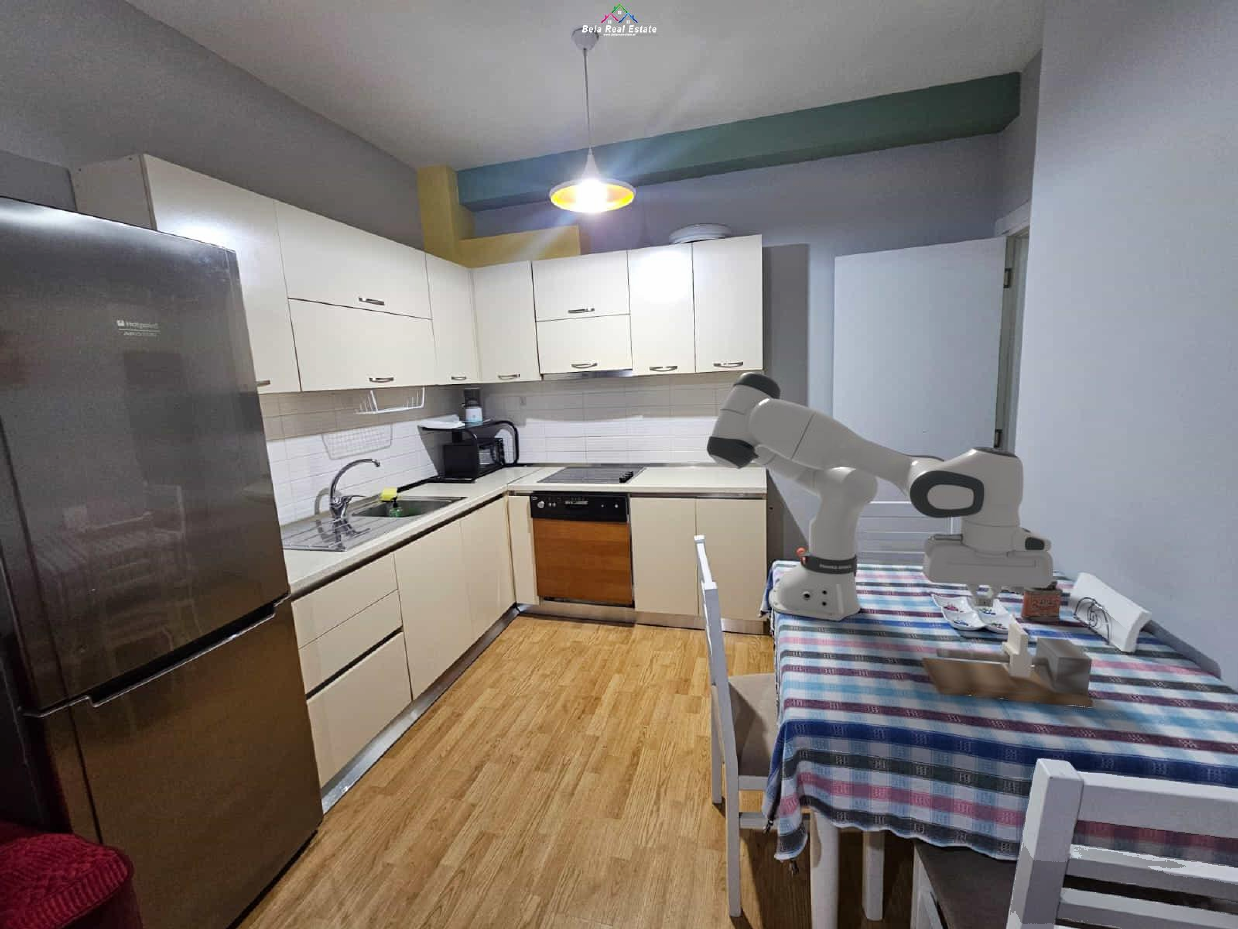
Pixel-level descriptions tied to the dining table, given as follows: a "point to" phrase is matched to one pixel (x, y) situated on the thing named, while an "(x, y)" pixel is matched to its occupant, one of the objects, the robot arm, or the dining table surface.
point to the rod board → (1050, 682)
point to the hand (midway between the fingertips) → (981, 605)
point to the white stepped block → (1017, 652)
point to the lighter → (1042, 603)
